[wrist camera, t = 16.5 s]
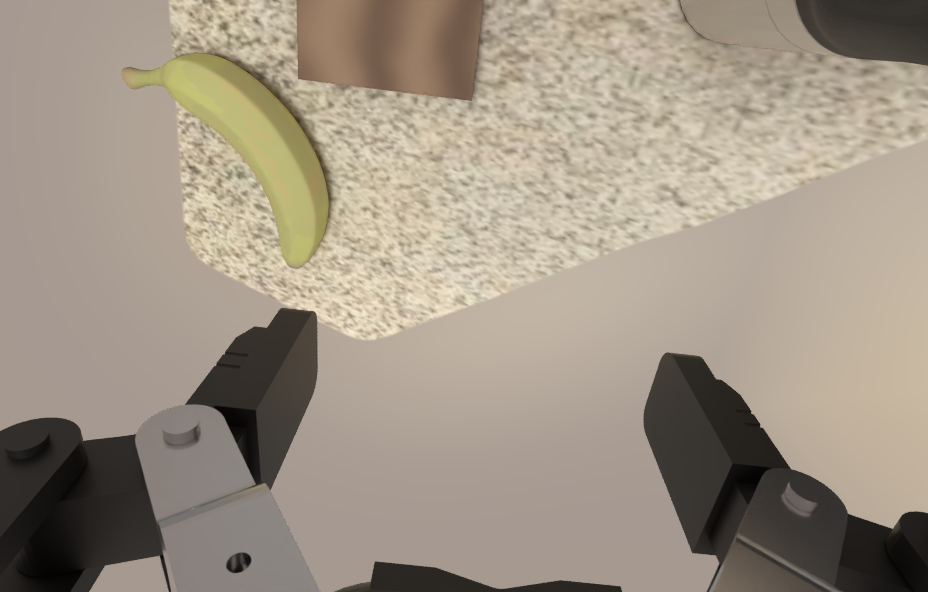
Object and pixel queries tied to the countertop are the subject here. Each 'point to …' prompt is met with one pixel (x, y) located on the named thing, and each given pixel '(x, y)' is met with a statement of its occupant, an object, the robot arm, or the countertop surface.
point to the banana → (253, 141)
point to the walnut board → (391, 44)
